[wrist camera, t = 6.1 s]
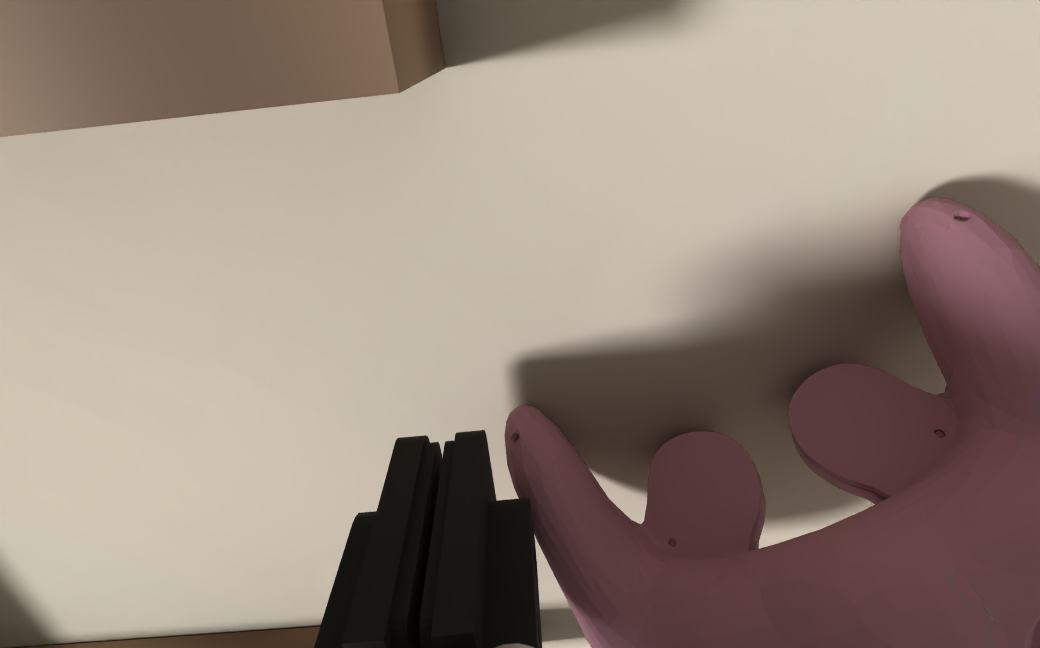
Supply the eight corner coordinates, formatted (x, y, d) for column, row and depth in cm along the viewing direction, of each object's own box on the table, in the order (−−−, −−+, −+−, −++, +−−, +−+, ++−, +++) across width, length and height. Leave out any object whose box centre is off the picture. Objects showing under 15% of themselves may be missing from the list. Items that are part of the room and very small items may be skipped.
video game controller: (562, 465, 15) (666, 792, 11) (472, 408, 12) (574, 857, 7) (936, 289, 13) (1260, 621, 8) (964, 151, 9) (1541, 595, 5)
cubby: (428, -42, 8) (364, -95, 5) (531, 644, 16) (535, 814, 13) (-714, 95, 9) (-1499, 137, 6) (-82, 685, 17) (-238, 857, 14)
